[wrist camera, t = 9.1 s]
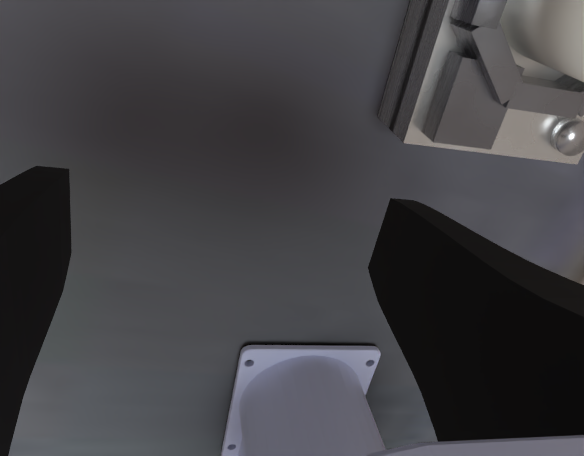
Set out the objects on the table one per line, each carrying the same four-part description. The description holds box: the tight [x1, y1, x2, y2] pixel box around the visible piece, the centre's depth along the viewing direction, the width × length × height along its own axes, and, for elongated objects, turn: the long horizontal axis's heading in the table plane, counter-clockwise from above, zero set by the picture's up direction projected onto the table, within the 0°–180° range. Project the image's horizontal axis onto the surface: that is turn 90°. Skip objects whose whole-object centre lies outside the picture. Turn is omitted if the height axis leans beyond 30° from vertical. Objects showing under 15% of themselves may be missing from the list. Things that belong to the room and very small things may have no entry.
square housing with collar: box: [378, 0, 584, 164], centre depth 18 cm, size 10×8×4 cm
